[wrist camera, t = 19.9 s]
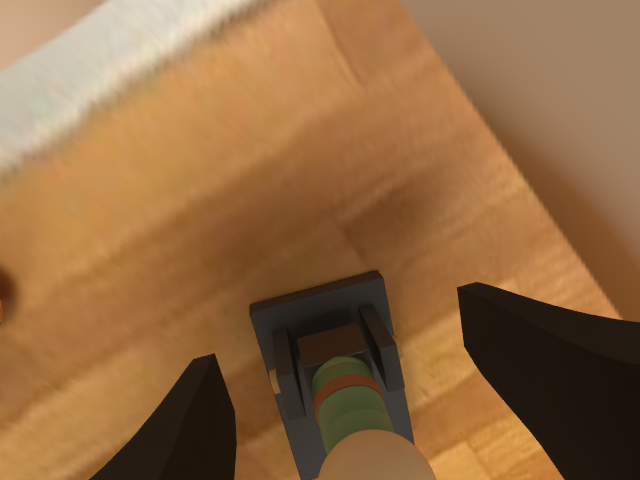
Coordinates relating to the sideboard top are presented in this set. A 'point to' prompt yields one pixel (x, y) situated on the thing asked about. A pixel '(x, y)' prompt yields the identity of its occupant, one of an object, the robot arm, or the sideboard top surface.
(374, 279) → the toy stand
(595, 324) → the robot arm
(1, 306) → the figurine
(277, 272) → the sideboard top surface
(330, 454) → the peg doll
